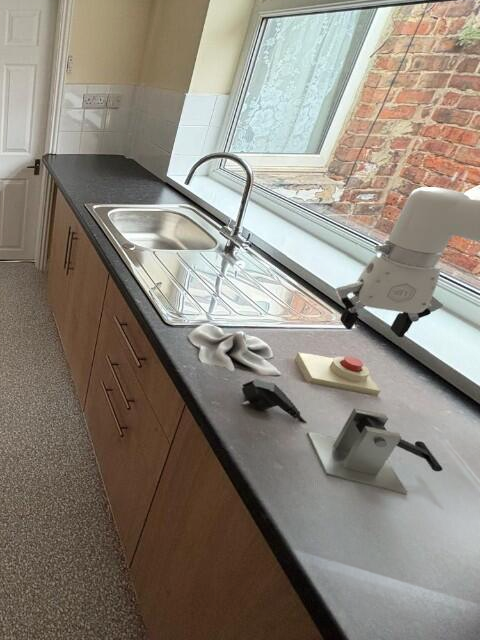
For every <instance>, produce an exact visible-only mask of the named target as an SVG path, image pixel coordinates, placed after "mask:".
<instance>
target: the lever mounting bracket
mask: <svg viewBox="0 0 480 640" xmlns="http://www.w3.org/2000/svg"><path fill="white" fill-rule="evenodd" d="M366 417H367V418H370V419H372V420H374V421H376V422H378V423H380V424H383V425H384V426H385V425H386V424H387V421H388V420H389V417H388V416H387V415H386V414H384V413H380V412H375V411H371V410H367V409H360V408H356V407H355V408H353V409H352V411H351V413H350V414H349V416H348V417H347V420H346V422H345V423H344V425H343V426H342V428H341V430H340V431H339V434H338V436H337V437H334V436H329V435H324V434H321V433H316V432H311V431H307V433H306V435H307V437H308V439H309V441H310V444H311V445H312V448H313V450H314V452H315V454H316V457H317V459H318V461H319V463H320V465H321V467H322V470H323V472H324V475H326V476H330V477H334V478H337V479H341V480H346V481H350V482H352V483H353V482H354V483H357V484H362V485H366V486H370V487H374V488H378V489H382V490H387V491H391V492H395V493H399V494H402V495H407V494H408V491H407V489H406V487H405V486H404V484H403V483H402V481H401V479H400V478H399V476H398V475H397V473H396V471H395V470H394V468H393V466H392V465H391V463H390V461H389V460H388V459H389V457H391V455H392V453H393V452H394V450H395V449H396V447H397V446H396V445H397V444H398V442H399V441H400V439H402V436H401V435H400V434H399V433H398V432H395V431H390V430H387V429H386V430H387V431H386V430H381V429H376V428H372V427H367V426H365V427H364V429H363V431H362V432H361V434H360V432H359V430H358V428H357V427H356V424H358V423H359V422H360V421H362V420H363V419H365V418H366Z"/></svg>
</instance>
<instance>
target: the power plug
mask: <svg viewBox="0 0 480 640" xmlns="http://www.w3.org/2000/svg"><path fill="white" fill-rule="evenodd" d="M241 390H242V393H243V397H244V398H245V399H246V400H244V401H243V402H242V405H244V406H249V405H250V406H251V407H252V408H254V409H255V410H256V411H258V412H263V411H265V410H269V409H272V408H274V407H279V408H280V409H281V410H282V411H284V412H285V413H287V415H290V417H292V418H293V419H298V421H300V422H301V423H303V424H308V422H307V420H305V419H304V418H303V416H301V412H300V411H299V410H298V408H297V407H296V405H295V404H294V403H293V401H291V399H290V398H289V397H288V396H287V394H286V393H285V392H284V391H283V390H282V389H281V388H279V386H277V384H276V383H275V382H268V381H264V380H260V379H258V378H255V379H253V380H250V381H247V382H245V383H243V384H242V387H241Z"/></svg>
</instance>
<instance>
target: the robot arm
mask: <svg viewBox="0 0 480 640" xmlns="http://www.w3.org/2000/svg"><path fill="white" fill-rule="evenodd" d="M453 236H455V237H459V238H461V239H466V240H470V241H473V242H477V243H480V184H479V185H477V186H475V187H472V188H470V189H469V190H467V191H465V192H464V193H463V192H460V191H457V190H454V189H451V188H450V189H449V188H445V187H444V188H443V187H435V186H425V187H418V188H416V189H414V190H413V191H412V192H411V193H409V195H408V197H407V199H406V201H405V203H404V205H403V207H402V209H401V211H400V213H399V216H398V218H397V219H396V221H395V223H394V225H393V228H392V230H391V232H390V234H389V236H388V238H387V239H386V240H385V242H384V243H383V244H377V245H375V248H374V249H375V252H378V253H376V254H375V255H374V256H373V257H372V258H371V260H370V261H369V262H368V263H367V264H366V266H365V268H364V269H363V271H362V272H361V274H360V275H359V277H358V278H357V280H356V281H355V282H352V283H349V284H346V285H343V286H339V287H336V288H335V292H336V295H337V297H338V299H339V300H340V302H341V303H342V304H343V305H344V310H343V312H342V314H341V316H340V318H339V319H340V323H341V324H342V325H343V326H344V328H345V329H346V330H352V329H353V327H354V325H355V323H356V321H357V319H358V317H359V312H358V311H360V310H361V309H364V308H365V307H367V308H372V309H378V310H385V311H393V312H398V313H397V315H396V317H395V318H394V320H393V322H392V324H391V325H390V331H392V332H393V333H394V334H395V335H396V337H398V338H404V336H405V334H406V333H408V331H409V329H410V328H411V326H412V324H413V322H414V323H415V322H418V321H419V320H420V319H421V318H424V317H427V316H429V315H431V313H433V312H435V311H437V310H439V309H441V308H442V307H443V305H444V304H443V303H441V301H439V300H438V299H437V298H435V296H433V295H434V293H435V290H436V289H437V285H438V283H439V279H440V276H441V275H440V274H441V270H442V267H441V265H439V264H438V263H439V261H440V260H441V257H442V256H443V254H444V252H445V250H446V248H447V246H448V245H449V243H450V241H451V240H452V238H453ZM349 294H352V295H353V296H352V297H350V298H349V296H348V295H349Z"/></svg>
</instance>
